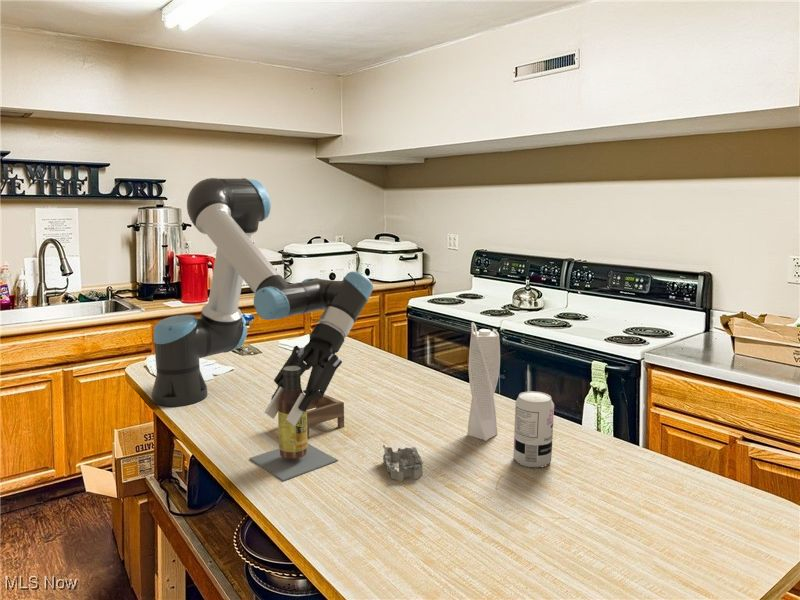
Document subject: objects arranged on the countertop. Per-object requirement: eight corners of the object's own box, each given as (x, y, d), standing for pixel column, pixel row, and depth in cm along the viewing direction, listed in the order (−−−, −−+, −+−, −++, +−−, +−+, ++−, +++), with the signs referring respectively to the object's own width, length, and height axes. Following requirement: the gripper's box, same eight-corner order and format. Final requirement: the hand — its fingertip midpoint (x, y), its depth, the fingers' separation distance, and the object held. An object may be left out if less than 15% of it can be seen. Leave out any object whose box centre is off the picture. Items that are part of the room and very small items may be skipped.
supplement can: (509, 453, 136) (511, 390, 133) (544, 452, 136) (547, 390, 134) (519, 470, 128) (521, 403, 125) (556, 468, 128) (559, 402, 126)
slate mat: (249, 459, 133) (249, 457, 132) (302, 441, 142) (302, 440, 142) (283, 481, 122) (283, 480, 122) (337, 461, 132) (337, 459, 132)
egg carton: (381, 461, 133) (381, 443, 132) (414, 458, 134) (414, 441, 133) (390, 483, 122) (390, 464, 122) (425, 480, 124) (425, 461, 123)
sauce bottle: (301, 462, 128) (299, 373, 125) (274, 459, 129) (271, 371, 126) (312, 449, 135) (310, 365, 131) (286, 446, 136) (283, 363, 132)
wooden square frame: (281, 426, 151) (280, 402, 150) (319, 415, 159) (319, 392, 158) (305, 439, 143) (304, 414, 142) (344, 426, 151) (343, 402, 150)
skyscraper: (459, 434, 146) (461, 323, 141) (476, 425, 152) (479, 318, 147) (486, 443, 141) (490, 328, 136) (503, 434, 147) (507, 323, 142)
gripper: (370, 346, 134) (320, 437, 124) (310, 334, 146) (260, 417, 136) (354, 327, 129) (300, 421, 119) (294, 316, 140) (240, 401, 131)
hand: (279, 419), depth 127 cm, fingers closed on sauce bottle, 6 cm apart
